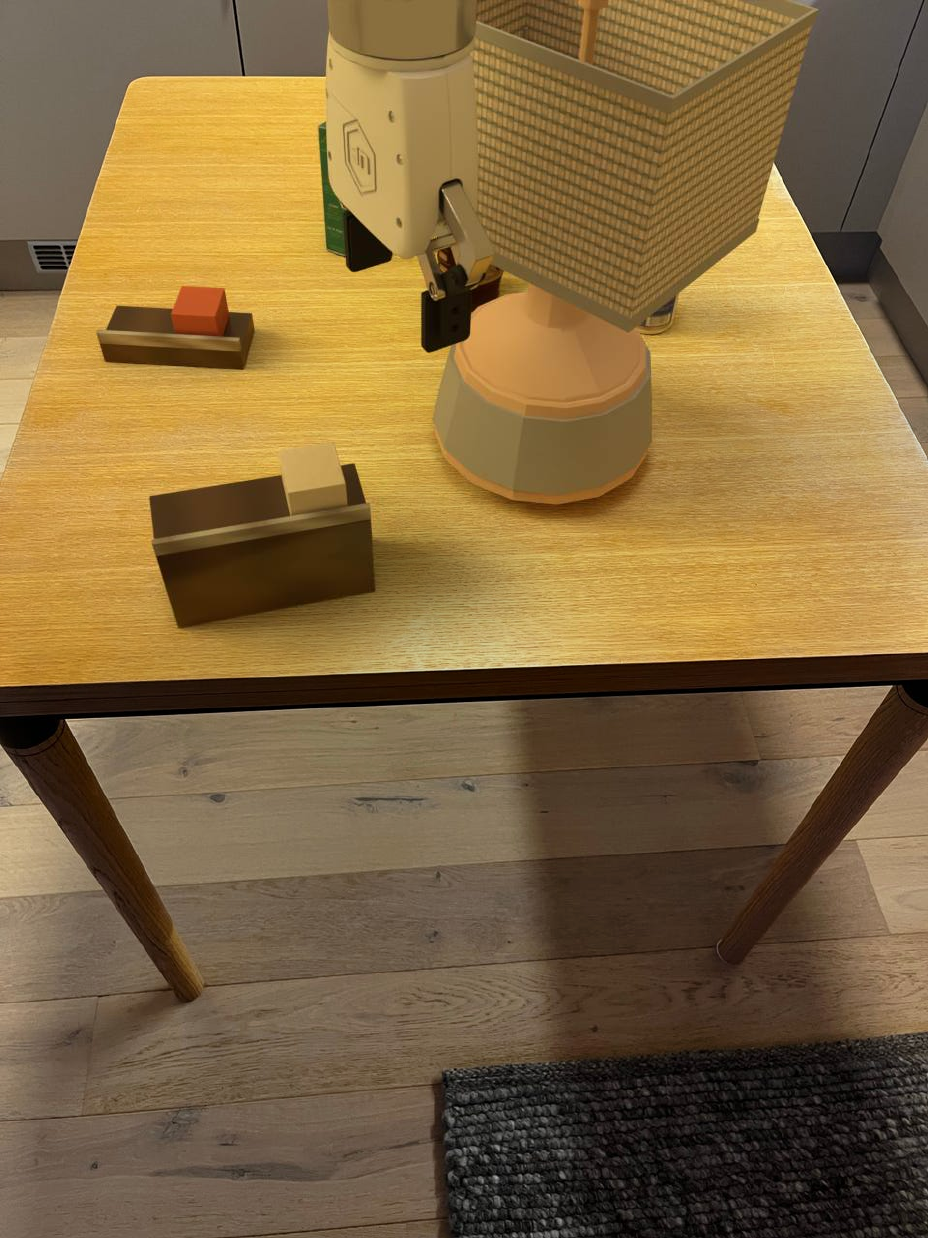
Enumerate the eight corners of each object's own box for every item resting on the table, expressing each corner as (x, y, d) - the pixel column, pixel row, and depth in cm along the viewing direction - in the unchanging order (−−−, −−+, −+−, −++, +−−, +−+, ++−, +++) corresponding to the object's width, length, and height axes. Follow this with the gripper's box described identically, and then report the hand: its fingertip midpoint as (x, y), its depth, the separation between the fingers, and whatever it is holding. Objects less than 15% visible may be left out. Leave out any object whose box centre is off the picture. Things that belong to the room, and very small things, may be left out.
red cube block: (229, 315, 95) (224, 287, 93) (220, 344, 92) (215, 316, 90) (187, 313, 95) (181, 285, 93) (177, 341, 92) (170, 313, 90)
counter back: (255, 330, 97) (250, 301, 95) (243, 369, 94) (238, 340, 91) (121, 322, 97) (113, 294, 95) (104, 361, 94) (95, 332, 91)
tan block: (336, 472, 74) (333, 441, 71) (348, 513, 71) (345, 483, 69) (282, 480, 73) (277, 449, 71) (292, 523, 70) (287, 492, 68)
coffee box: (365, 215, 111) (359, 93, 100) (387, 223, 110) (384, 100, 100) (324, 250, 106) (313, 125, 96) (347, 258, 105) (339, 133, 95)
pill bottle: (627, 299, 102) (642, 218, 96) (677, 311, 101) (696, 230, 94) (613, 328, 99) (628, 246, 92) (665, 341, 98) (683, 259, 91)
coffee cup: (525, 286, 103) (537, 163, 93) (492, 330, 98) (501, 205, 88) (449, 264, 105) (452, 141, 95) (413, 305, 101) (412, 181, 90)
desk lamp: (702, 445, 89) (835, -16, 60) (575, 566, 80) (660, 89, 51) (510, 343, 97) (547, -105, 68) (375, 442, 88) (352, -29, 59)
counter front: (359, 536, 81) (353, 450, 74) (375, 591, 77) (370, 507, 70) (170, 569, 78) (145, 483, 71) (178, 628, 75) (151, 544, 67)
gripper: (261, -37, 54) (293, 252, 67) (424, 95, 45) (423, 398, 58) (384, -60, 56) (391, 223, 70) (561, 61, 48) (530, 358, 61)
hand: (406, 302), depth 64 cm, fingers open, 9 cm apart
